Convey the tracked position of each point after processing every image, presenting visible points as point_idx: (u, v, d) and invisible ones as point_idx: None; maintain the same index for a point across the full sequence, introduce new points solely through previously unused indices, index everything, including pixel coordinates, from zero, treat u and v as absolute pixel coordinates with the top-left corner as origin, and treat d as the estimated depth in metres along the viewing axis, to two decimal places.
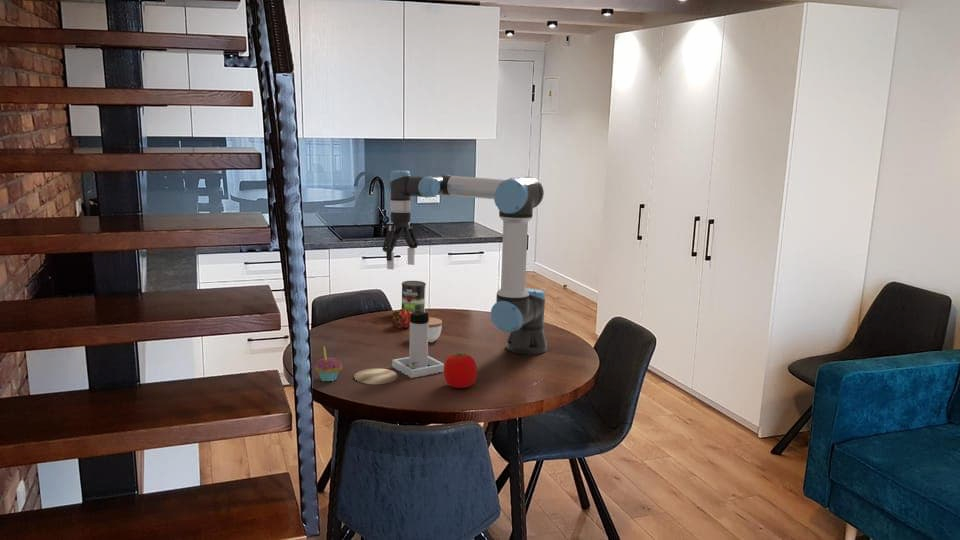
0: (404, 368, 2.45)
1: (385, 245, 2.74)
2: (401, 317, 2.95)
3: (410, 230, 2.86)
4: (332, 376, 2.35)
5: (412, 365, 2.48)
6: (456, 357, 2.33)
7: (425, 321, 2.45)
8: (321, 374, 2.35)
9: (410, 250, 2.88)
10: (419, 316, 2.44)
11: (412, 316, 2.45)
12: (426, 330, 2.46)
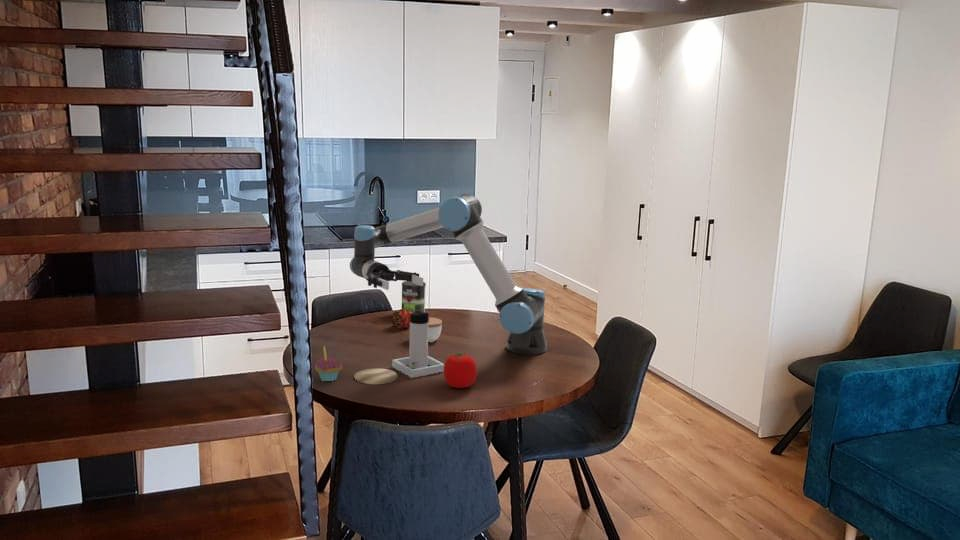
0: (404, 368, 2.45)
1: None
2: (401, 317, 2.95)
3: None
4: (332, 376, 2.35)
5: (412, 365, 2.48)
6: (456, 357, 2.33)
7: (425, 321, 2.45)
8: (321, 374, 2.35)
9: (413, 279, 2.61)
10: (419, 316, 2.44)
11: (412, 316, 2.45)
12: (426, 330, 2.46)
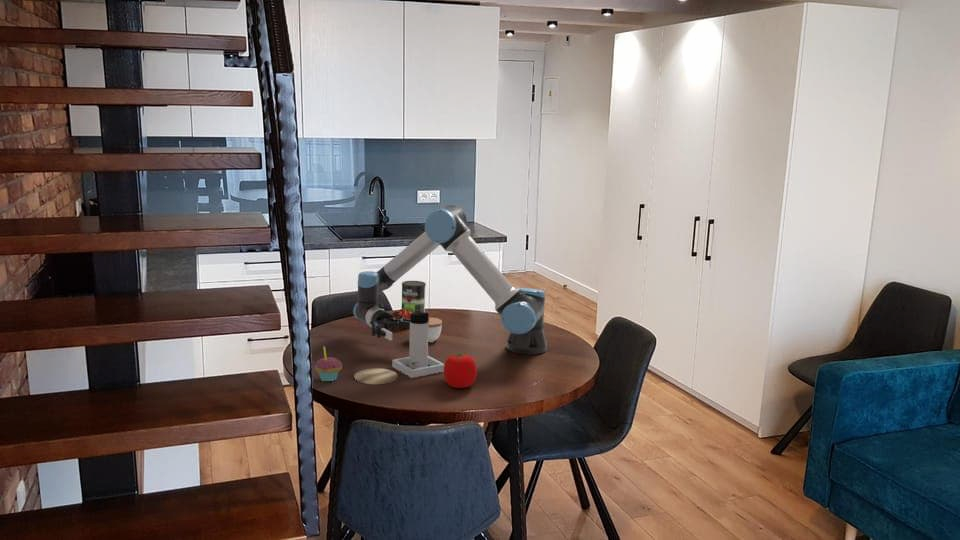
0: (404, 368, 2.45)
1: None
2: None
3: (404, 321, 2.67)
4: (332, 376, 2.35)
5: (412, 365, 2.48)
6: (456, 357, 2.33)
7: (425, 321, 2.45)
8: (321, 374, 2.35)
9: None
10: (419, 316, 2.44)
11: (412, 316, 2.45)
12: (426, 330, 2.46)
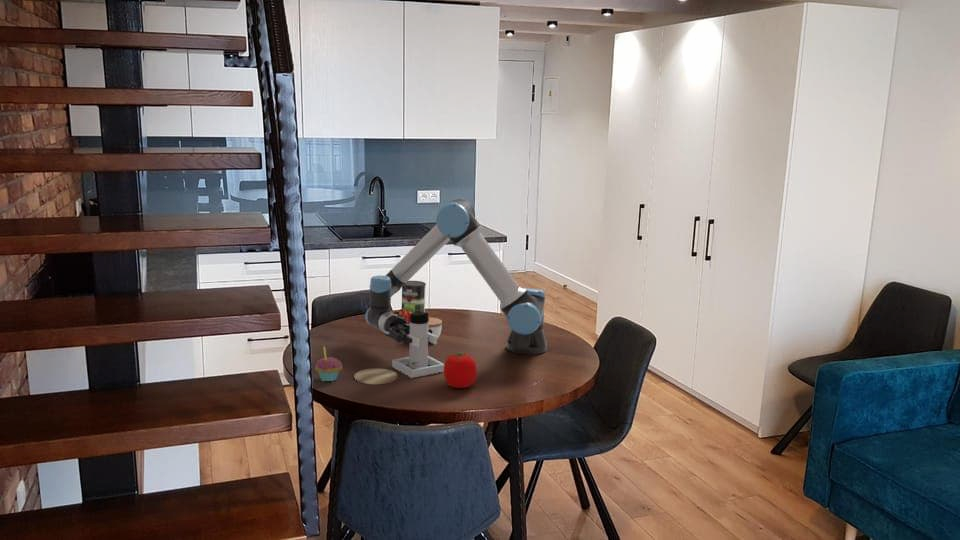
0: (404, 368, 2.45)
1: (396, 338, 2.48)
2: None
3: None
4: (332, 376, 2.35)
5: (412, 365, 2.48)
6: (456, 357, 2.33)
7: (425, 321, 2.45)
8: (321, 374, 2.35)
9: None
10: (419, 316, 2.44)
11: (412, 316, 2.45)
12: (426, 330, 2.46)
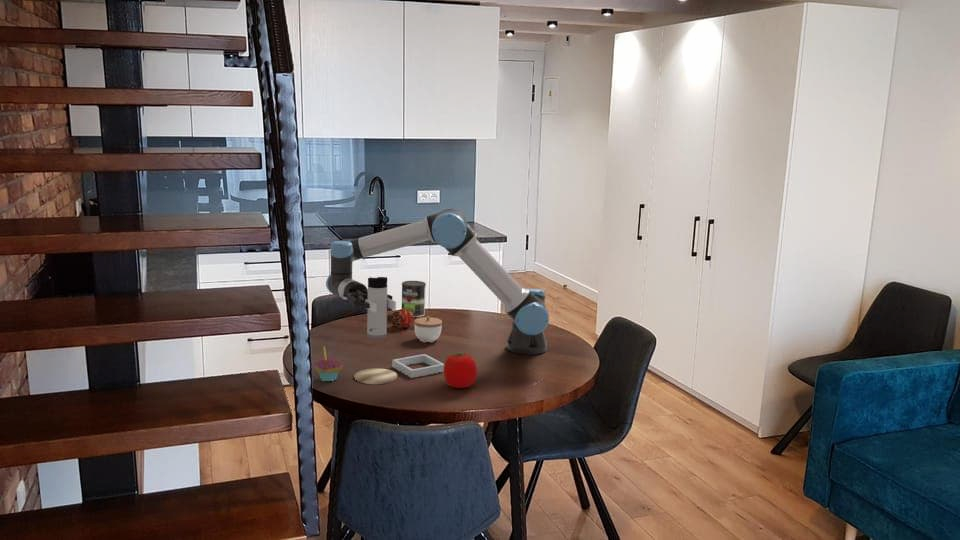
0: (404, 368, 2.45)
1: (353, 303, 2.37)
2: (401, 317, 2.95)
3: None
4: (332, 376, 2.35)
5: (370, 332, 2.37)
6: (456, 357, 2.33)
7: (383, 285, 2.34)
8: (321, 374, 2.35)
9: None
10: (377, 280, 2.33)
11: (369, 280, 2.34)
12: (384, 295, 2.35)
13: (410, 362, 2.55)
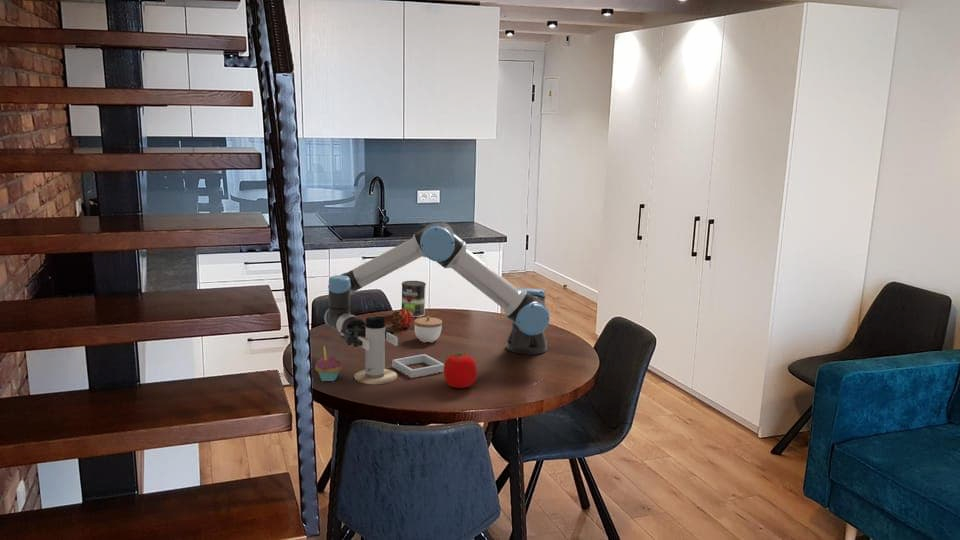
0: (404, 368, 2.45)
1: (346, 340, 2.38)
2: (401, 317, 2.95)
3: None
4: (332, 376, 2.35)
5: (368, 371, 2.39)
6: (456, 357, 2.33)
7: (381, 326, 2.36)
8: (321, 374, 2.35)
9: (387, 337, 2.43)
10: (375, 320, 2.35)
11: (367, 320, 2.36)
12: (382, 335, 2.37)
13: (410, 362, 2.55)
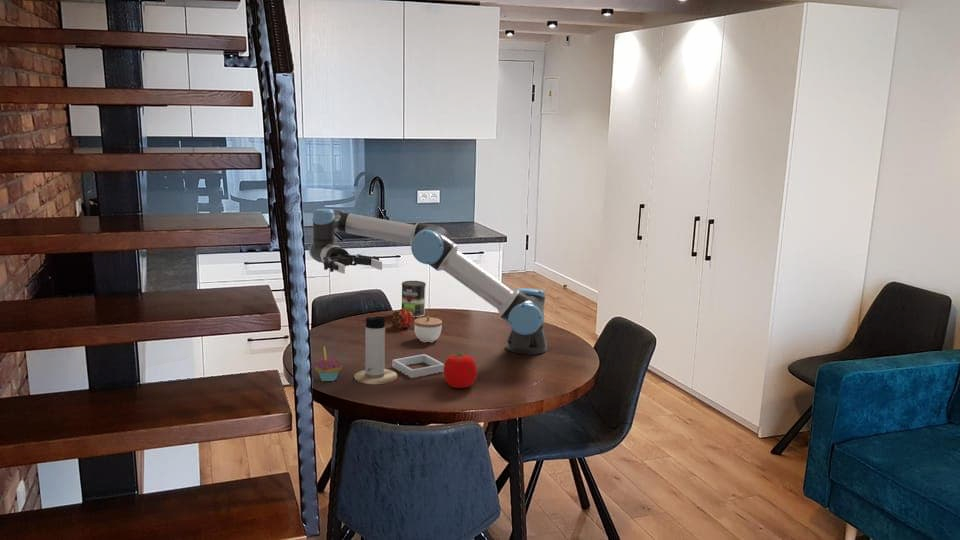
0: (404, 368, 2.45)
1: None
2: (401, 317, 2.95)
3: None
4: (332, 376, 2.35)
5: (368, 371, 2.39)
6: (456, 357, 2.33)
7: (381, 326, 2.36)
8: (321, 374, 2.35)
9: (372, 263, 2.51)
10: (374, 320, 2.35)
11: (367, 320, 2.36)
12: (382, 335, 2.37)
13: (410, 362, 2.55)
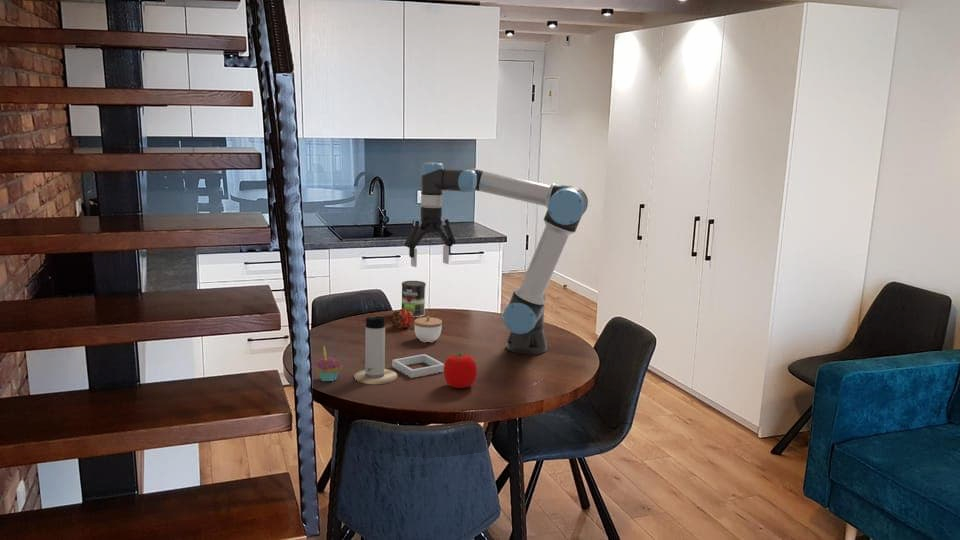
0: (404, 368, 2.45)
1: (407, 241, 2.60)
2: (401, 317, 2.95)
3: (445, 227, 2.68)
4: (332, 376, 2.35)
5: (368, 371, 2.39)
6: (456, 357, 2.33)
7: (381, 326, 2.36)
8: (321, 374, 2.35)
9: (445, 248, 2.70)
10: (374, 320, 2.35)
11: (367, 320, 2.36)
12: (382, 335, 2.37)
13: (410, 362, 2.55)
